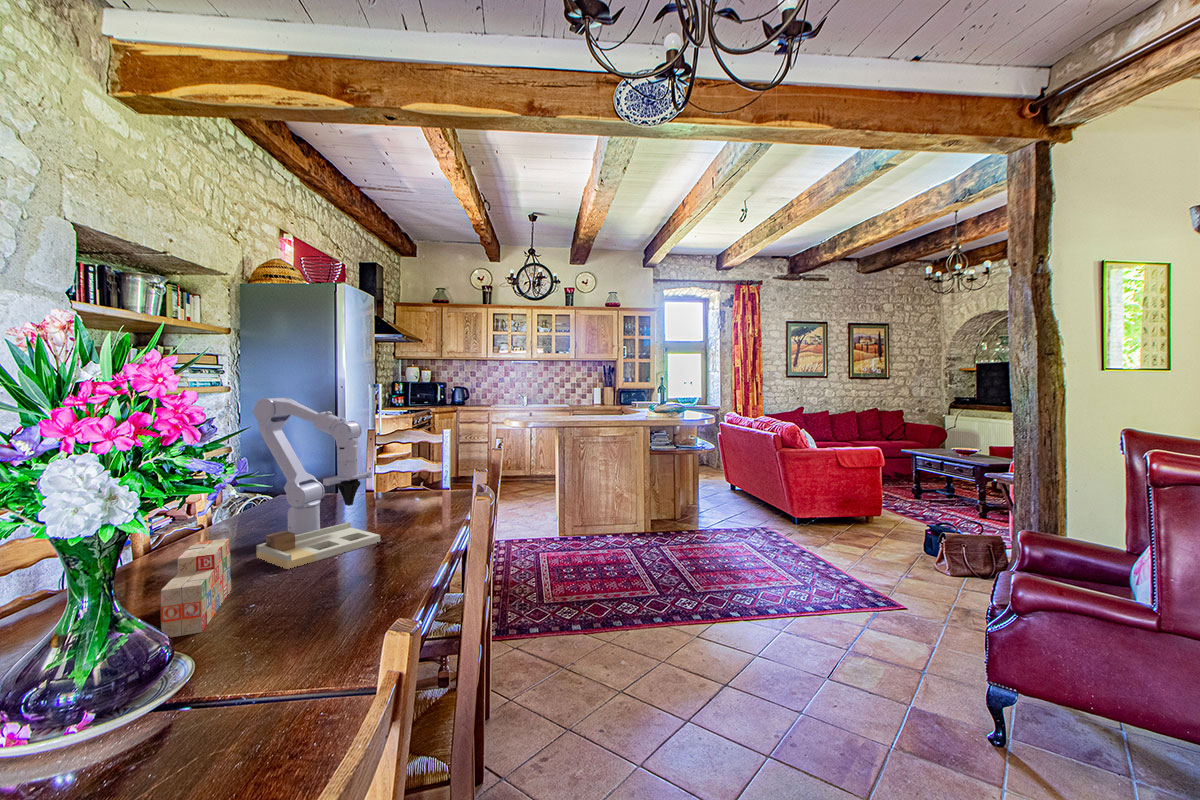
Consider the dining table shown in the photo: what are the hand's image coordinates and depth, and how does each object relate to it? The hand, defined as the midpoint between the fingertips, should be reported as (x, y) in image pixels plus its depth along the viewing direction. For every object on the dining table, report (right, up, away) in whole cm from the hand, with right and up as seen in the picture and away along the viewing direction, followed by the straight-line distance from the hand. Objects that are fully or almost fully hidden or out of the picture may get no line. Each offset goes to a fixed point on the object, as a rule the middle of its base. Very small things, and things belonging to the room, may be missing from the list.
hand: (348, 504), depth 155 cm
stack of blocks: (-5, -12, -52) cm, 53 cm away
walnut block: (-9, -8, -19) cm, 22 cm away
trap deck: (-1, -10, -13) cm, 16 cm away
